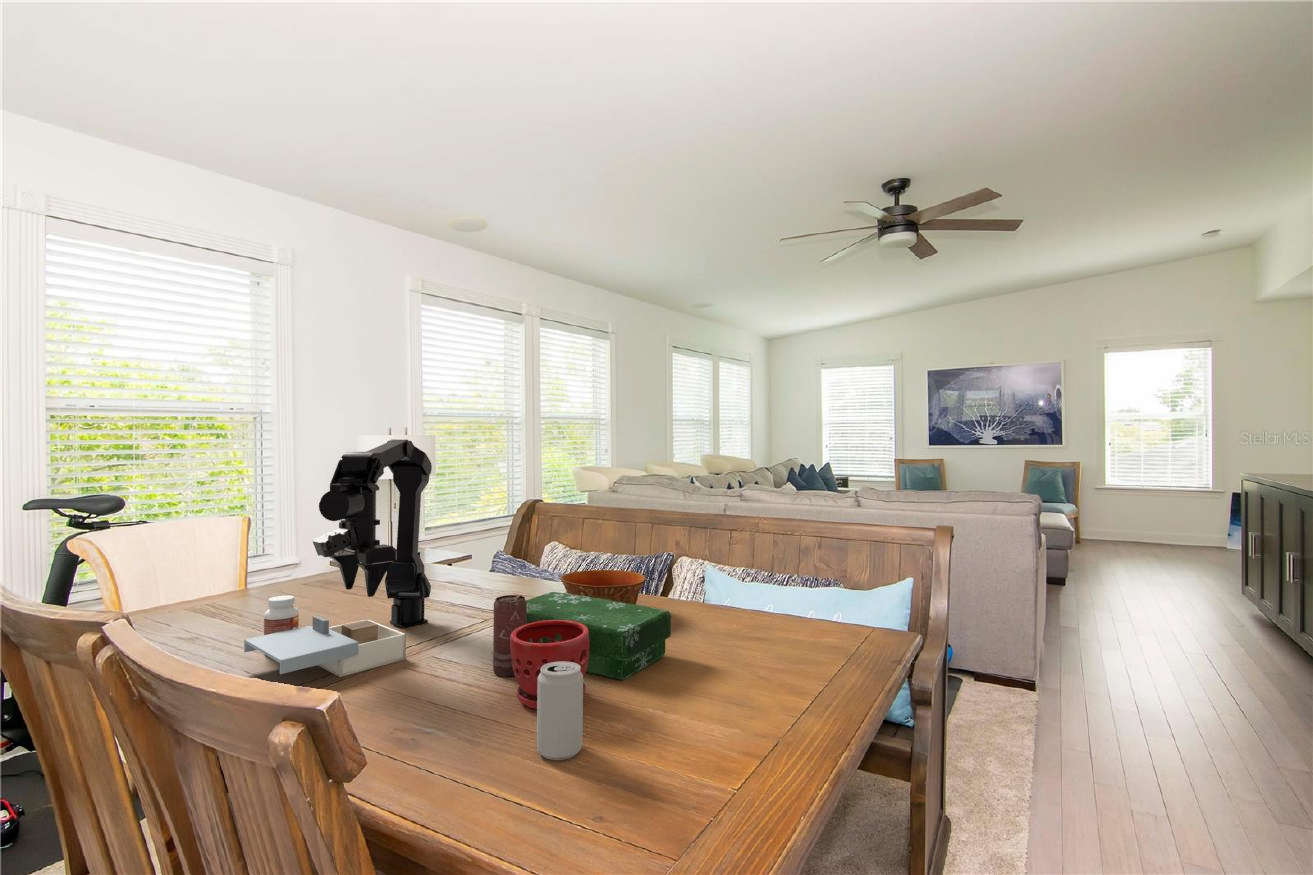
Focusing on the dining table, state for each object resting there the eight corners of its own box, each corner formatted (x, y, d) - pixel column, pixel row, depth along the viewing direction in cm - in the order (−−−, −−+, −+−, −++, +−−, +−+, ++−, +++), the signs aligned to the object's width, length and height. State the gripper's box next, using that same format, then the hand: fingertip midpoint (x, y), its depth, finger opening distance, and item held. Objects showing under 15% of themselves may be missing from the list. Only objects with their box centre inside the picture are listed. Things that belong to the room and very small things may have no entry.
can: (532, 668, 126) (533, 595, 126) (515, 679, 120) (515, 603, 120) (505, 664, 128) (506, 592, 128) (486, 675, 122) (487, 600, 122)
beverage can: (538, 742, 96) (539, 660, 96) (583, 740, 96) (583, 659, 96) (534, 764, 90) (535, 675, 90) (581, 762, 90) (582, 674, 90)
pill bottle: (299, 653, 134) (300, 599, 134) (264, 659, 130) (264, 603, 130) (296, 645, 139) (297, 593, 139) (262, 650, 135) (263, 596, 135)
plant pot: (520, 685, 118) (520, 618, 118) (593, 686, 117) (593, 619, 117) (500, 716, 105) (501, 641, 105) (583, 717, 104) (583, 642, 104)
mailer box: (367, 642, 141) (367, 619, 141) (405, 659, 131) (405, 634, 131) (303, 657, 131) (303, 632, 131) (339, 677, 121) (339, 650, 121)
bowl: (598, 601, 178) (598, 564, 178) (662, 614, 166) (662, 574, 166) (542, 618, 161) (542, 577, 161) (608, 634, 149) (609, 590, 149)
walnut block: (341, 654, 132) (341, 624, 132) (366, 648, 135) (366, 619, 135) (352, 660, 128) (352, 629, 128) (377, 654, 132) (377, 624, 132)
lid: (318, 635, 134) (318, 611, 134) (358, 654, 123) (358, 628, 123) (244, 652, 124) (244, 626, 124) (280, 674, 113) (280, 645, 113)
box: (673, 657, 134) (673, 608, 134) (623, 686, 118) (623, 631, 118) (552, 632, 150) (553, 589, 150) (494, 655, 134) (495, 606, 134)
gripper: (298, 514, 132) (297, 592, 132) (340, 522, 120) (340, 608, 120) (353, 510, 140) (353, 583, 140) (398, 517, 128) (398, 597, 128)
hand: (359, 592), depth 132 cm, fingers open, 9 cm apart
